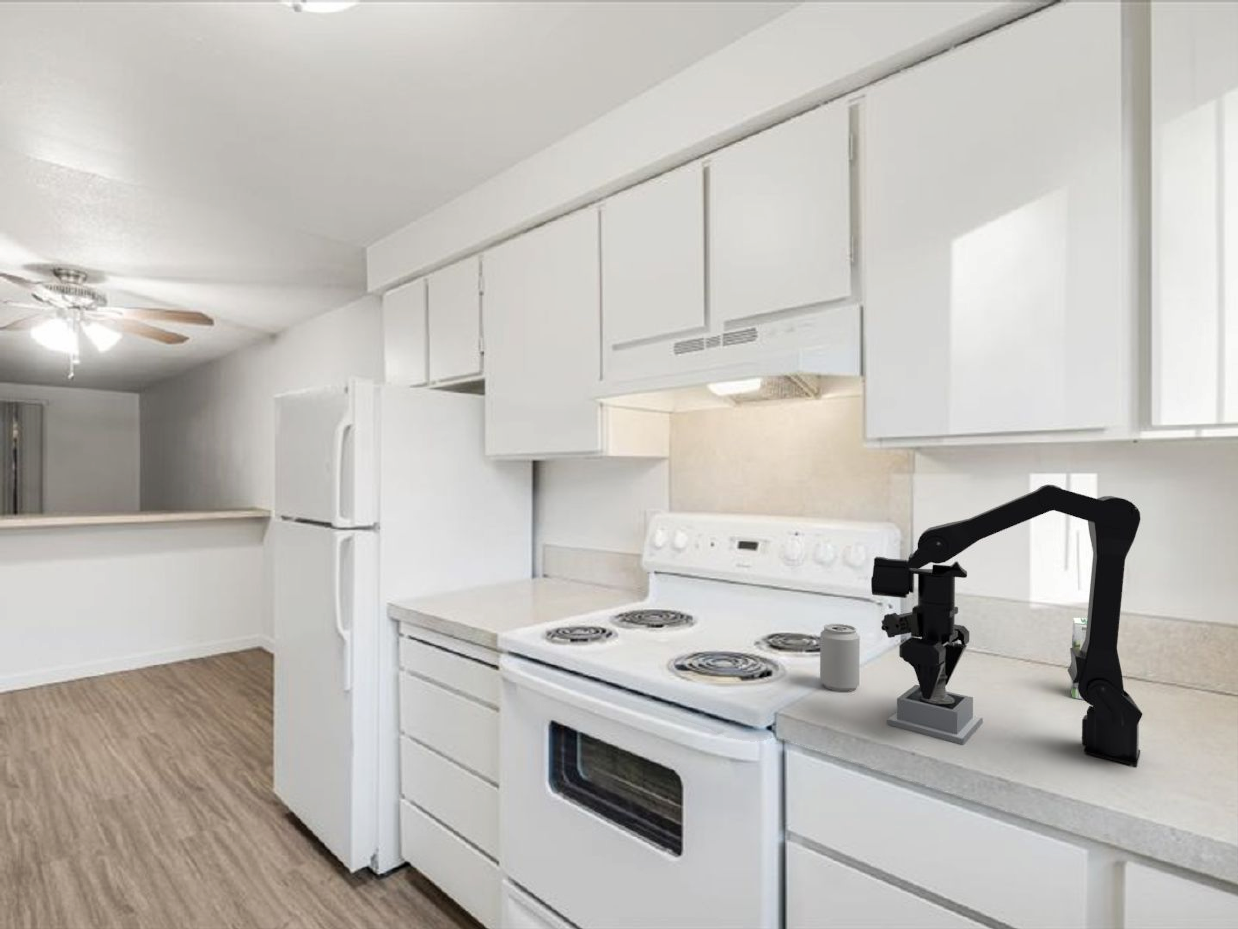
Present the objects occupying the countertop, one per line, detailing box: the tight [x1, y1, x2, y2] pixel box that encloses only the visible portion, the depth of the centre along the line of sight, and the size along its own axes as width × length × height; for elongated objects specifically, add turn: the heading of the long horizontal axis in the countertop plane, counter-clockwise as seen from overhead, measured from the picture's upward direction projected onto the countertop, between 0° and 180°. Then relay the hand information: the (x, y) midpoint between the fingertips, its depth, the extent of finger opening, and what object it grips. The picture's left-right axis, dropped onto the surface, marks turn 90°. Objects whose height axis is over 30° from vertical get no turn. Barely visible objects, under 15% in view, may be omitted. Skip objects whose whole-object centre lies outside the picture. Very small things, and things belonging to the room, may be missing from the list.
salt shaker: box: [917, 659, 955, 709], centre depth 114 cm, size 6×6×12 cm
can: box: [819, 623, 861, 692], centre depth 133 cm, size 8×8×12 cm
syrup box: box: [1070, 617, 1087, 701], centre depth 127 cm, size 6×6×14 cm
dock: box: [886, 684, 984, 745], centre depth 114 cm, size 12×12×4 cm
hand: (935, 691), depth 114 cm, fingers open, 9 cm apart
